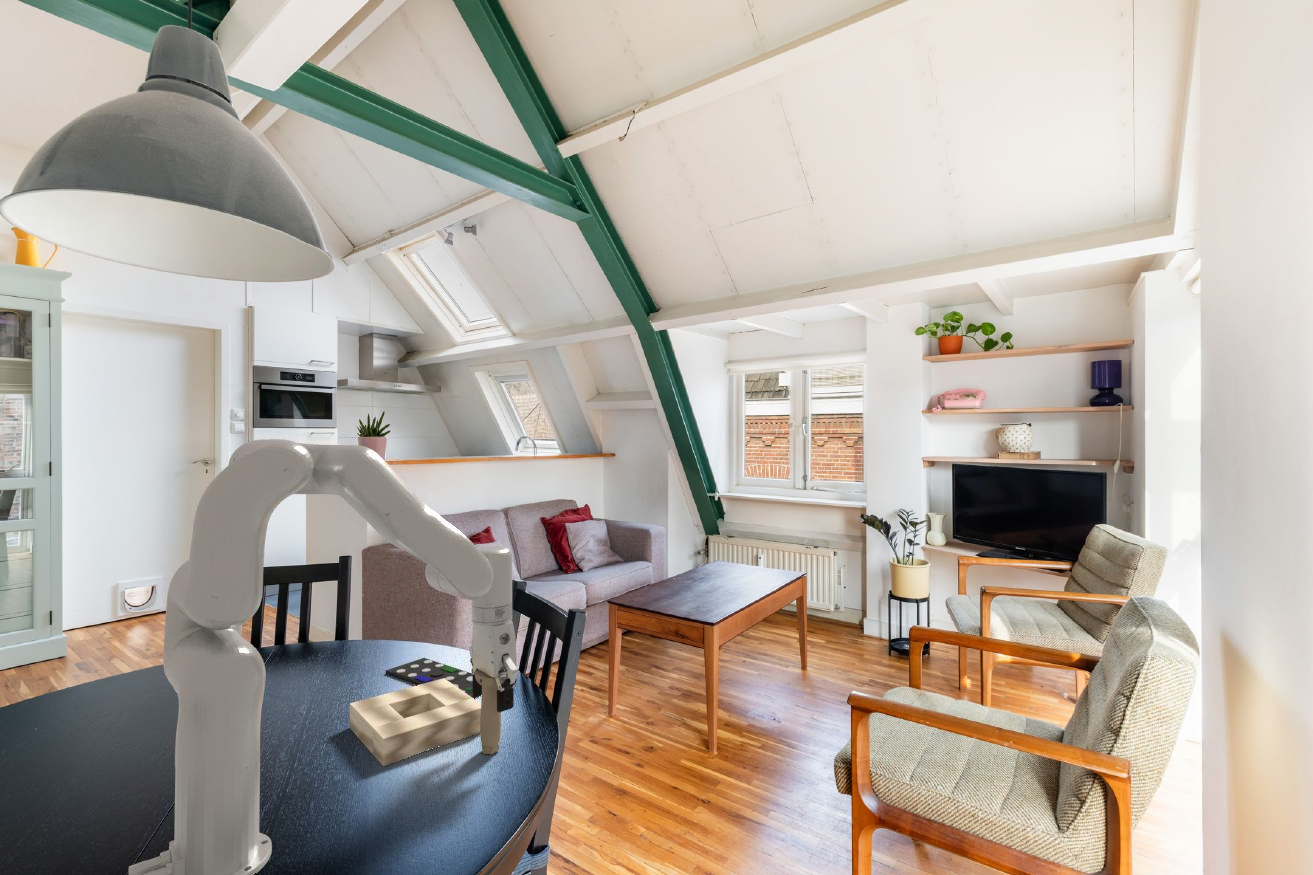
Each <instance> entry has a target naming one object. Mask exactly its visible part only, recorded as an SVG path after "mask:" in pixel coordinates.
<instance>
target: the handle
mask: <svg viewBox="0 0 1313 875" xmlns="http://www.w3.org/2000/svg"><path fill="white" fill-rule="evenodd" d="M501 672H505V669H504V670H502V671H499V673H501ZM475 678H476V681H477V682H478V683H479V684H480V685H482V696H481V700H480V701H481V702H480V703H481V715H480V733H479V735H480V736H479V737H480V743H481V750H482V754H484V755H490V756H492V755H494V754H495V753H498V752H499V750H500V744H499V743H500V741H501V734H502V712H500V713H499V712H498V711H497V690H499V688H498V685H497V682H496V679H495V678H493V677H491V676H489V675H487V674H485V673H484V672H482V671H481V670H477V671H476V672H475ZM506 678H507V677H506V676H505V677H501V679H502V682H504V681H505V679H506Z"/></svg>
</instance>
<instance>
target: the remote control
mask: <svg viewBox="0 0 1313 875" xmlns="http://www.w3.org/2000/svg"><path fill="white" fill-rule="evenodd" d="M385 675H387V676H389V677H392V676H393V678H394V679H395V678H396V679H398V680H400V679H401V680H400V681H404V682H407V683H408V682H409V683H408V684H411V683H412V684H411V685H413V684H415V685H414V686H416V685H421V684H424V683H428V682H432V681H436V680H439V679H443V678H445V679H446V680H447V681H449V682H450V683H452V684H453V685H455V686H456V687H458V688H459V689H460V690H462V691H463V692H465V693H466V694H468V695H469V696H471V697H472V698H475V699H477V698H479V696H480V697H482V696H481V695H482V694H479V695H476V696H474V695H473V684H472V675H475V674H472V672H468V671H466V670H463V669H460V668H456V667H453V666H450V665H447V664H445V663H441V662H440V661H439V662H438V661H435V660H432V659H430V658H426V657H422V658H419V659H416V660H412V661H410V662H407V663H406V662H405V663H404V664H401V665H398V666H395V667H391V668H389V669H386V670H385ZM476 697H477V698H476Z"/></svg>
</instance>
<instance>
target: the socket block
mask: <svg viewBox="0 0 1313 875" xmlns="http://www.w3.org/2000/svg"><path fill="white" fill-rule="evenodd" d="M480 715H481V702H479V701H478V700H476V698H475V699H473V698H472V697H471V696H469V695H468V694H466V693H465V692H463V691H462V690H460V689H459V688H458V687H456V686H455V685H453V684H452V683H450V682H449V681H447V680H446V679H445V678H443V679H439V680H436V681H432V682H428V683H424V684H421V685H417V686H416V685H414V686H410V687H407V688H403V689H399V690H396V691H392V692H388V693H383V694H380V695H376V696H373V697H369V698H365V699H361V700H357V701H354V702H350V703H349V729H350V730H351V731H352V732H353V733H354V734H355V736H356V737H357V738H358V739H359V740H360V742H361V743H362V744H363V745H364V746H365V747H366V748H367V749H368V751H369V752H370V753H371V754H372V755H373V757H374V758H375V759H376V760H377V761H378V762H379V763H380V765H381V766H383V767H385V766H389V765H392V764H395V763H397V762H400V760H401V761H403V760H402V759H404V760H406V759H408V758H407V757H409V758H412V757H413V756H412V755H415V754H418V753H420V752H424V751H427V750H428V749H432V748H435V749H437V748H436V747H438V746H441V747H443V746H442V745H444V746H446V745H445V744H447V745H449V744H448V743H450V744H452V742H453V741H456V740H459V741H461V739H462V738H464V739H467V738H469V737H472V735H473V736H476V735H480ZM466 737H467V738H466ZM462 740H463V739H462ZM456 742H457V741H456ZM453 743H454V742H453ZM438 748H439V747H438ZM427 752H428V751H427ZM424 753H425V752H424ZM418 755H419V754H418ZM411 756H412V757H411ZM415 756H416V755H415ZM405 758H406V759H405Z"/></svg>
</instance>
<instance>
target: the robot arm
mask: <svg viewBox="0 0 1313 875" xmlns="http://www.w3.org/2000/svg"><path fill="white" fill-rule="evenodd" d="M292 495H335V496H339V497H341V498H342V499H343V500H344V501H346V503H347V504H348V505H349V506H350V507H351V508H352V509H353V510H355V512H357V513H358V514H359V515H360V516H361V517H362V518H363V519H364V520H365V521H366V522H367V523H368V524H369V525H370V526H371V528H373V529H374V530H375V531H376V532H377V533H378V534H379V535H380V536H381V537H382V538H383V539H384V540H386V541H387V542H389V543H390V544H391V545H394V546H395V547H396V548H398V549H400V550H402V551H403V552H407V553H408V554H411V555H412V556H414V557H415V558H418V559H420V560H421V561H423V563H424V562H425V564H426V566H425V570H424V575H425V579H426V581H427V583H428V584H429V586H430V587H431V588H433V589H434V590H436V591H439V592H441V593H445V594H447V595H451V596H454V597H457V598H460V599H463V600H467V601H471V623H472V630H471V646H469V648H468V650H469V656H470V661H469V662H470V663H471V669H470V671H471V672H470V673H472V674H475V672H476V671H477V670H481V671H482V672H484V673H485V674H487V675H489V676H491V677H493V678H495V679H496V682H497V685H498V688H499V690H497V711H498V712H499V713H500V712H501V713H502V712H505V711H508V710H511V709H513V708H514V705H515V704H514V703H515V702H514V701H515V700H514V694H515V693H514V691H515V688H516V683H517V681H518V680H517V678H518V674H519V669H518V666H517V664H518V660H517V657H518V656H517V641H516V632H515V627H514V623H513V555H512V552H511V549H510V548H508V547H505V546H498V545H497V546H496V545H493V546H484V547H479V548H478V547H477V545H475V543H473V542H472V540H470V539H469V538H468V537H467V536H466V535H465V534H464V533H462V531H461V530H459V529H458V528H456V527H455V526H454V525H453V524H451V523H450V522H449V521H447V520H446V519H445V518H443V517H442V516H441V514H439V513H438V512H436V511H435V510H434V509H432V508H431V507H429V505H427V504H426V503H425V502H424V501H423V500H422V499H421V498H420V497H419V496H418V495H417V494H416V493H415V491H414V490H413V489H412V488H410V486H409V485H408V484H407V483H406V482H405V480H403V478H401V477H400V476H399V475H398V473H397V472H396V471H395V470H394V469H393V468H392V466H390V464H388V462H386V460H385V459H384V458H383V457H382V456H381V455H380V454H379V453H378V452H376V451H375V450H373V449H372V448H369V447H368V446H364V445H359V444H358V445H357V444H356V445H354V444H318V443H317V444H315V443H300V442H295V441H293V440H288V439H284V438H283V439H279V438H277V439H276V438H273V439H256V440H250V441H248V442H245V443H244V444H242V445H239V447H237V448H236V449H235V451H234V452H233V453H232V454H231V456H230V458H229V461H228V465H227V466H226V467H225V468H224V469H223V470H221V471H220V472H219V473H218V474H217V475H216V476H215V477H214V478H213V480H212V481H211V482H210V483H209V484H208V486H207V487H206V489H205V490H204V492H203V494H202V496H201V497H200V500H199V502H198V504H197V507H196V511H195V515H194V519H193V527H192V536H191V543H190V550H189V559H188V560H186V561H185V562H184V563H182V564H181V565H180V566H179V568H177V570H176V571H175V572H174V574H173V576H172V578H171V580H170V583H169V586H168V590H167V597H166V607H165V622H164V638H163V656H162V658H163V659H162V660H163V662H162V663H163V665H162V666H163V671H164V674H165V677H166V678H167V680H168V683H170V685H171V686H172V688H173V690H174V692H175V693H176V694H177V698H178V717H177V725H176V733H175V734H176V735H175V750H174V767H175V769H174V770H175V771H174V772H175V775H174V776H175V780H174V783H175V784H174V837H173V838H174V840H173V839H172V840H171V841H169V843H168V844H169V849H168V850H166V851H165V850H164V851H162V852H160V853H159V854H160V855H159V856H156V857H154V858H150V859H148V860H143V861H141V862H137V863H134V864H132V865H129V866H128V875H254V874H255V873H256V874H257V873H259V872H260V871H261V869H263V868H264V867H265V865H266V864H267V863H268V861H270V858H271V855H272V851H273V850H272V848H273V844H272V839H271V838H270V837H269V836H268V835H266V834H264V833H262V832H260V798H261V797H260V791H261V790H260V788H261V786H260V785H261V718H262V710H263V709H262V706H263V700H264V694H265V687H266V679H267V676H266V675H267V674H266V665H265V663H264V662H265V661H264V659H263V658H262V655H261V653H260V652H259V651H258V650H257V648H256V647H254V645H253V644H252V643H250V642H249V641H248V640H246V639H245V638H244V637H242V636H243V635H242V634H243V633H242V631H243V625H244V624H246V623H248V621H250V619H252V617H254V616H255V614H256V613H257V611H258V610H259V608H260V606H261V602H262V599H263V592H264V589H263V588H264V566H265V565H264V562H265V545H266V538H267V531H268V525H269V521H270V519H271V516H272V514H273V513H274V511H275V510H276V508H277V507H278V506H279V505H280V504H281V503H282V502H283V501H284V500H286V499H288V497H290V496H292ZM502 670H505V672H501V673H499V671H502ZM505 676H506V677H507V678H506V679H505V681H504V682H502V679H501V677H505ZM472 684H473V695H474V696H476V695H479V694H482V685H480V684H479V683H478V682H477V681H476V678H475V675H472ZM256 874H255V875H256Z"/></svg>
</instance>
